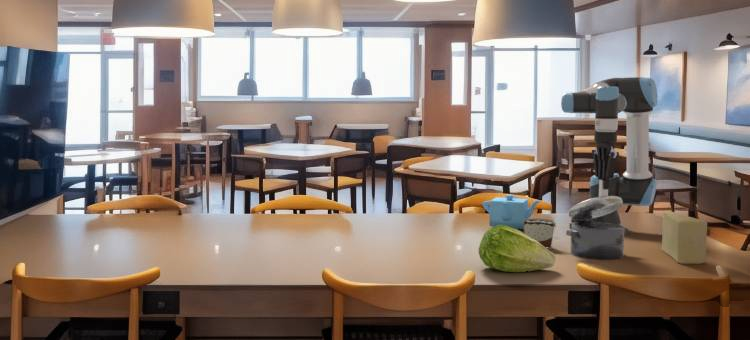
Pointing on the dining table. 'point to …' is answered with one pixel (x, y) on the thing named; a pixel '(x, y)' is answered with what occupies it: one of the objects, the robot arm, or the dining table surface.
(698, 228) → the cheese
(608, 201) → the lid
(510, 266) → the lettuce
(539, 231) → the food container
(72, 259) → the dining table surface
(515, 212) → the teakettle
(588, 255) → the stockpot
